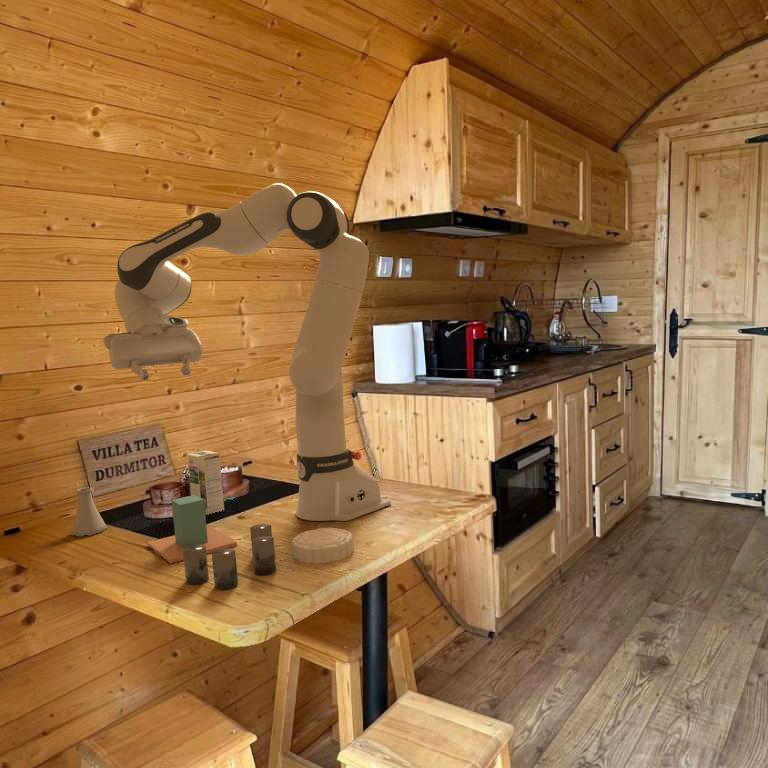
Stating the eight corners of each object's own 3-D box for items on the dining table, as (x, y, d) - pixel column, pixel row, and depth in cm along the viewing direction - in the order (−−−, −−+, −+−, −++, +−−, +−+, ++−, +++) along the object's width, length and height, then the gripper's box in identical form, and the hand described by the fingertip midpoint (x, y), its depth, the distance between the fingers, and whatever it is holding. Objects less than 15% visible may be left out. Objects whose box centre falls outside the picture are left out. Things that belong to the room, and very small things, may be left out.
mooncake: (280, 555, 137) (278, 538, 137) (326, 538, 146) (325, 521, 145) (319, 569, 129) (318, 550, 128) (366, 550, 137) (365, 532, 137)
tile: (211, 529, 155) (210, 526, 155) (237, 545, 144) (236, 541, 144) (147, 545, 147) (147, 542, 147) (169, 563, 136) (169, 559, 136)
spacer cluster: (267, 551, 139) (265, 522, 138) (297, 568, 129) (294, 537, 129) (179, 577, 129) (175, 545, 128) (203, 597, 119) (200, 563, 118)
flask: (94, 537, 155) (88, 493, 154) (64, 537, 156) (59, 493, 155) (112, 526, 162) (108, 484, 161) (84, 526, 164) (79, 485, 162)
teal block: (198, 536, 149) (194, 494, 148) (207, 541, 145) (203, 499, 144) (175, 542, 146) (171, 500, 145) (184, 548, 142) (179, 504, 141)
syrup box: (191, 513, 169) (185, 454, 167) (212, 506, 173) (207, 449, 172) (204, 516, 165) (198, 456, 164) (225, 510, 170) (220, 451, 168)
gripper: (102, 324, 153) (119, 371, 147) (193, 318, 165) (212, 361, 158) (99, 344, 158) (116, 391, 151) (188, 337, 169) (207, 380, 162)
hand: (166, 375), depth 155 cm, fingers open, 8 cm apart
